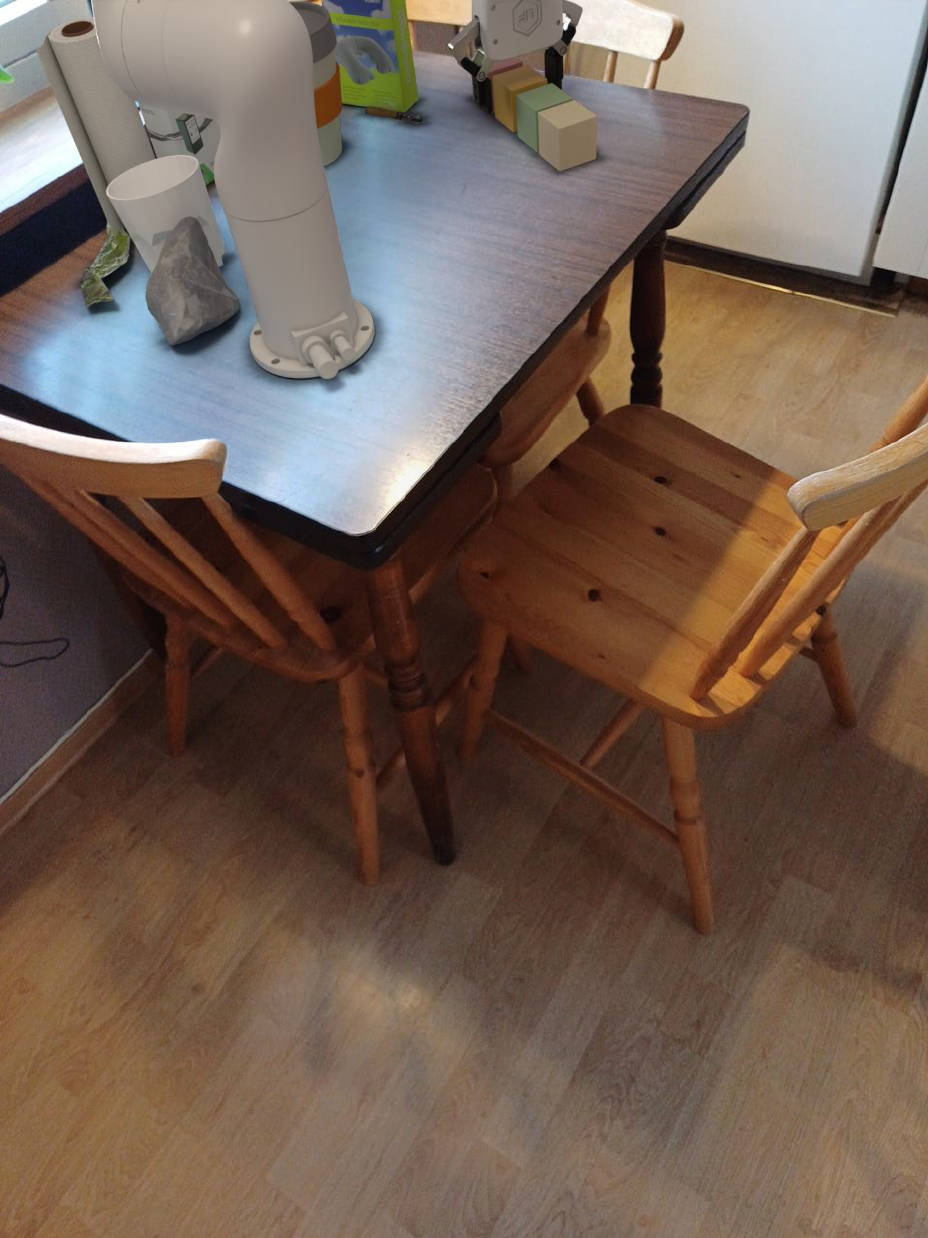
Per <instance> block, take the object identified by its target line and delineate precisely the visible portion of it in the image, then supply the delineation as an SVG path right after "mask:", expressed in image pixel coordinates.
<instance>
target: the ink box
mask: <svg viewBox="0 0 928 1238" xmlns="http://www.w3.org/2000/svg"><path fill="white" fill-rule="evenodd" d="M137 104H138V106H139V107H138V108H139V110H140V113H141V117H142V118H143V121H144V122H143V123H144V124H145V127H146V131H147V134H148V135H149V136H148V137H149V138H150V139H149V140H150V143H151V145H152V147H153V151H154V154H155V157H156V159H158V158H162V157H167V156H174V155H187V156H193V157H194V158H196V159H197V160H198V162H199V165H200V169H201V172H202V175H203V179H204V182H205V185H206V186H208V185H209V184H211V183H213V182H215V178H214V161H215V156H216V153H217V149H218V146H219V142H220V128H219V125H218V124H217V122H216V121H214V120H212V119H209V118H205V117H200V116H197V115H192V114H186V113H181V112H175V111H169V110H163V109H159V108H154V107H150V106H147V105H143V104H141V103H138V102H137Z"/></svg>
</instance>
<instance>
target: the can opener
mask: <svg viewBox="0 0 928 1238" xmlns="http://www.w3.org/2000/svg"><path fill="white" fill-rule="evenodd" d="M364 115H368V116H373V117H379V118H380V117H381V118H389V119H393V120H402V123H403V124H405V125H409V126H420V125H424V122H423V116H422V115H421V114H417V115H416V112H415V111H414V112H413V111H411V112H406V113H405V114H404V113H403V112H399V111H391V110H386V109H383V108H378V107H369V106H367V107H365V108H364ZM413 115H414V116H413ZM417 119H419V121H416V120H417Z"/></svg>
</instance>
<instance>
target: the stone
mask: <svg viewBox="0 0 928 1238" xmlns="http://www.w3.org/2000/svg"><path fill="white" fill-rule="evenodd" d="M144 296H145V297H144V298H145V302H146V306H147V310H148V311H149V313H150V315H151V316H152V317H153V318H154V320H155V321H156V322H157V324H158V326H159V327H160V330H161V332H162V334H163V336H164V338H165V339H166V341H167V342H168V344H169V345H170V346H176V345H179V344H182V343H185V342H188V341H191V340H193V339H195V338H196V337H197V336H199V335H201V334H202V333H204V332H207V331H212V330H213V329H215V328H217V327H219V326H220V325H222V324H223V323H224V322H226V321H227V320H229V319H230V318H233V316H234V315H236V314H237V313H238V311H239V310H240V299H239V298H238V297H237V295H236V293H234V291H233V290H232V289H231V287H230V286H229V284H228V283H227V280H226V278H225V276H224V274H223V273H222V271H221V269H220V266H219V267H218V265H217V263H216V260H215V257H214V254H213V252H212V250H211V248H210V246H209V244H208V240H207V237H206V235H205V233H204V231H203V229H202V227H201V224H200V223H199V221H198V220H197V219H196V218H194V217H190V216H189V217H185V218H183V219H181V220H180V222H179V223H178V224H177V225H176V226H175V228H174V229H173V230H172V231H171V233H170V234H169V236H168V237H167V239H166V241H165V243H164V246H163V248H162V250H161V253H160V255H159V258H158V261H157V264H156V267H155V268H154V270H153V272H152V274H151V273H150V276H149V277H148V280H147V283H146V287H145V295H144Z"/></svg>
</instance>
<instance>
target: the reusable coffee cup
mask: <svg viewBox="0 0 928 1238" xmlns="http://www.w3.org/2000/svg"><path fill="white" fill-rule="evenodd" d="M288 2H289V3H290V4H291V5H292V6H293V7H294V8H295V9H296V10H297V11H298V13H299V14H300V16H301V17H302V19H303V21H304V23H305V25H306V27H307V30H308V33H309V36H310V40H311V47H312V54H313V77H314V104H315V116H316V125H317V131H318V138H319V144H320V149H321V154H322V159H323V164H324V167H326V166H328V165H330V164H332V163H333V162H335V161H336V160H337V159H338V158H339V157H340V155H342V151H343V142H342V129H341V127H342V126H341V115H340V114H341V112H342V110H343V103H342V95H341V81H340V67H339V65H338V63H337V62H336V59H335V47H336V44H337V39H336V35H335V32H334V28H333V24H332V21H331V17H330V14H329V12H328V10H327V9H326V8H324V7H323V6H322V4H318V3H315V2H311V1H301V0H300V1H297V0H296V1H295V0H293V1H292V0H291V1H288Z"/></svg>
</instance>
